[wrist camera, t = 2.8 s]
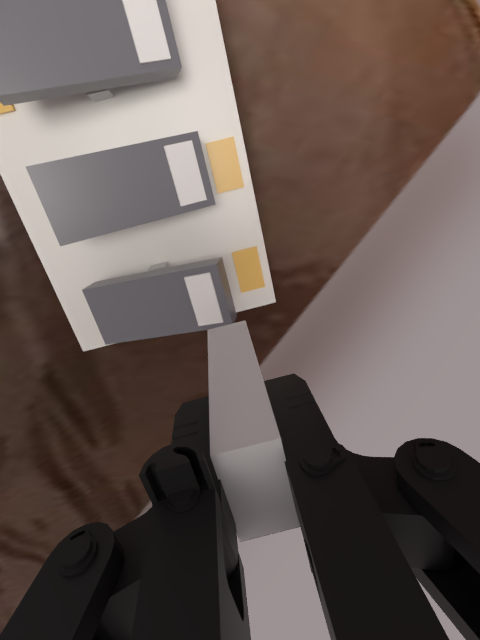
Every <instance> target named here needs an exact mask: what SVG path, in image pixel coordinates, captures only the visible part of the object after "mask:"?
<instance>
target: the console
mask: <svg viewBox="0 0 480 640" xmlns="http://www.w3.org/2000/svg"><path fill="white" fill-rule="evenodd" d="M166 4H167V8H168V12H169V16H170V20H171V24H172V28H173V32H174V37H175V41H176V45H177V49H178V53H179V57H180V61H181V65H182V68H181V70H180V72H179V74H178V76H177V78H172V79H166V80H160V81H154V82H148V83H141V84H135V85H129V86H123V87H117V88H111V89H105V90H98V91H92V92H86V93H80V94H74V95H68V96H62V97H55V98H49V99H43V100H37V101H31V102H25V103H19V104H12V105H6V106H4V105H3V104H2V103H1V102H0V174H1V176H2V179H3V181H4V183H5V185H6V187H7V189H8V191H9V194H10V196H11V198H12V200H13V202H14V204H15V206H16V209H17V211H18V213H19V215H20V217H21V219H22V221H23V224H24V226H25V228H26V230H27V232H28V234H29V236H30V239H31V241H32V243H33V245H34V247H35V249H36V251H37V254H38V256H39V258H40V260H41V262H42V264H43V266H44V269H45V271H46V273H47V275H48V277H49V279H50V281H51V284H52V286H53V288H54V290H55V292H56V294H57V296H58V299H59V301H60V303H61V305H62V307H63V309H64V311H65V314H66V316H67V318H68V320H69V322H70V324H71V326H72V329H73V331H74V333H75V335H76V337H77V339H78V341H79V344H80V346H81V348H82V350H83V352H84V351H88V350H92V349H95V348H99V347H103V346H107V345H111V344H107V345H105V342H104V340H103V338H102V335H101V333H100V331H99V328H98V326H97V324H96V322H95V319H94V317H93V315H92V312H91V310H90V308H89V305H88V303H87V301H86V298H85V296H84V294H83V292H82V289H84V288H86V287H87V286H89V285H91V284H92V283H94V282H97V281H102V280H107V279H112V278H117V277H122V276H127V275H132V274H138V273H143V272H148V271H153V270H158V269H163V268H168V267H173V266H178V265H183V264H188V263H194V262H199V261H204V260H209V259H214V258H219V257H222V259H223V263H224V267H225V271H226V275H227V278H228V282H229V286H230V290H231V294H232V298H233V302H234V306H235V310H236V312H240V311H244V310H248V309H251V308H255V307H259V306H263V305H267V304H271V303H275V302H276V300H275V295H274V290H273V285H272V280H271V275H270V270H269V265H268V260H267V255H266V250H265V245H264V240H263V235H262V230H261V225H260V220H259V215H258V210H257V205H256V200H255V195H254V190H253V185H252V180H251V175H250V170H249V165H248V160H247V155H246V150H245V145H244V140H243V135H242V131H241V126H240V121H239V116H238V111H237V106H236V101H235V96H234V91H233V86H232V81H231V76H230V71H229V66H228V61H227V56H226V51H225V46H224V41H223V36H222V31H221V26H220V21H219V16H218V11H217V6H216V1H215V0H166ZM195 131H198V134H199V138H200V142H201V147H202V151H203V155H204V159H205V163H206V167H207V171H208V175H209V179H210V183H211V187H212V191H213V195H214V199H215V204H216V205H212V206H208V207H205V208H201V209H197V210H194V211H190V212H186V213H182V214H179V215H175V216H171V217H168V218H164V219H160V220H156V221H153V222H149V223H145V224H142V225H138V226H134V227H131V228H127V229H123V230H119V231H116V232H112V233H108V234H105V235H101V236H97V237H93V238H90V239H86V240H82V241H79V242H75V243H71V244H68V245H64V246H60V245H59V242H58V240H57V238H56V236H55V233H54V231H53V229H52V226H51V224H50V222H49V219H48V217H47V215H46V213H45V210H44V208H43V206H42V203H41V201H40V199H39V197H38V194H37V192H36V190H35V187H34V185H33V183H32V181H31V178H30V176H29V174H28V171H27V169H26V166H31V165H36V164H41V163H45V162H50V161H55V160H60V159H65V158H70V157H74V156H79V155H84V154H89V153H94V152H98V151H103V150H108V149H113V148H118V147H123V146H127V145H132V144H137V143H142V142H147V141H151V140H156V139H161V138H166V137H171V136H176V135H180V134H185V133H190V132H195ZM114 344H115V343H114Z"/></svg>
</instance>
